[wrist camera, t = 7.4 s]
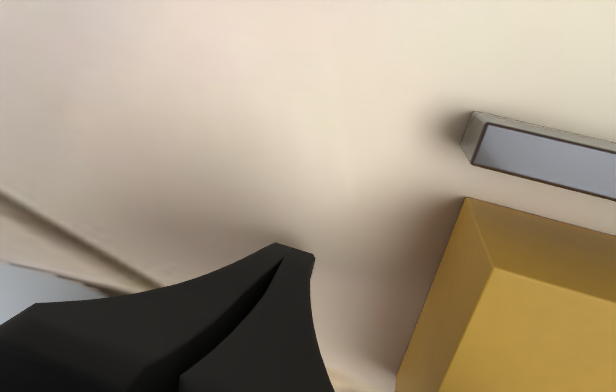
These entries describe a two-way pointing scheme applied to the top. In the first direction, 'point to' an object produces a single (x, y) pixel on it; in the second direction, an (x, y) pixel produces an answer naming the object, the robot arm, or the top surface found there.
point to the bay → (541, 154)
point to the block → (516, 308)
